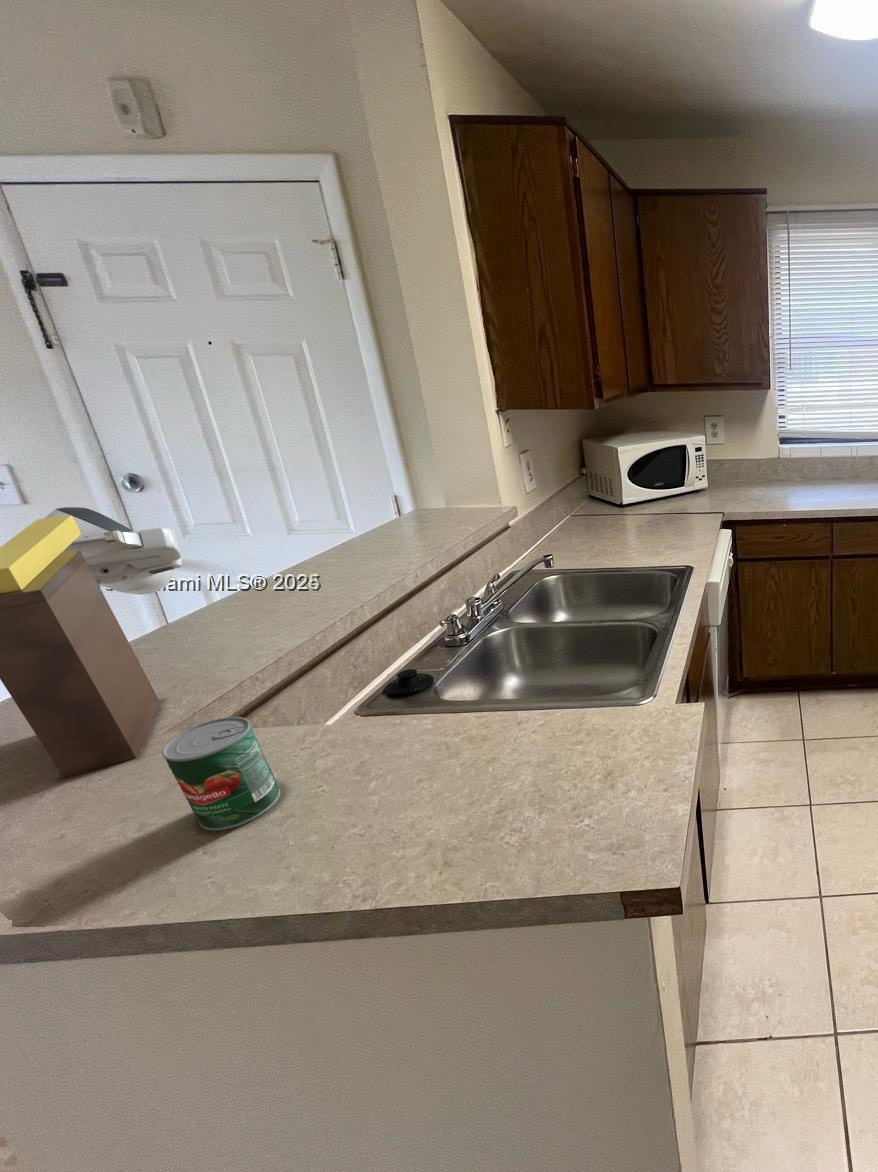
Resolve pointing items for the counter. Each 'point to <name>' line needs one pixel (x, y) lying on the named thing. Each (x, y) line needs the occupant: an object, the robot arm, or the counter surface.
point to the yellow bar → (34, 550)
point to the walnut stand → (73, 669)
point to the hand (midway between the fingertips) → (67, 542)
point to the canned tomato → (222, 772)
